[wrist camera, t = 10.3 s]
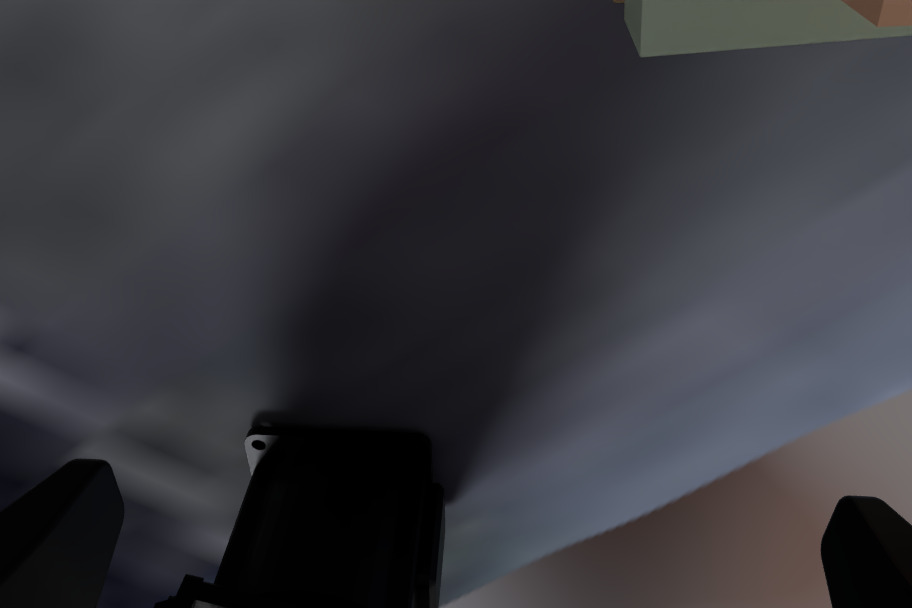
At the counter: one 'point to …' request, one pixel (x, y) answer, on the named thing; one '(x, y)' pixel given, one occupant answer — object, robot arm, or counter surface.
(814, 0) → the sage slab
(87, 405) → the counter surface
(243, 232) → the counter surface
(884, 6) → the tan cube
